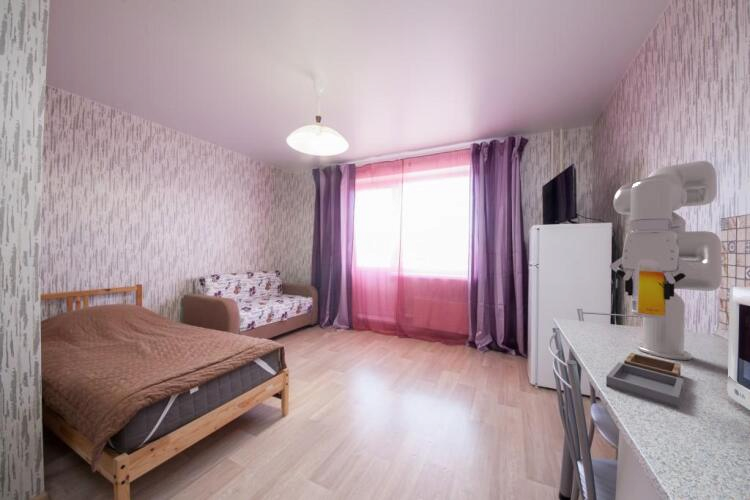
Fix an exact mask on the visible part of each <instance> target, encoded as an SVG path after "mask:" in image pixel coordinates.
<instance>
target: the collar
mask: <svg viewBox="0 0 750 500" xmlns="http://www.w3.org/2000/svg"><path fill="white" fill-rule="evenodd" d="M623 361H624V362H623V363H624V364H627V365H631V366H635V367H639V368H643V369H647V370H651V371H655V372H659V373H662V374H666V375H670V376H674V377H678V378H681V367H682V366H681V363H677V362H672V361H668V360H665V359H659V358H655V357H651V356H648V355H647V356H646V355H642V354H638V353H634V352H630V353H629V355H627V356H626V358H625V359H624V360H623Z"/></svg>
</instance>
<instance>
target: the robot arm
mask: <svg viewBox="0 0 750 500" xmlns="http://www.w3.org/2000/svg"><path fill="white" fill-rule="evenodd" d="M717 187H718V186H717V171H716V168H715V167H714V165H713V164H712V163H711V162H709V161H707V160H706V161H705V160H699V161H692V162H684V163H679V164H678V163H677V164H673V165H667V166H663V167H659V168H656V169H655V170H653V171H652V172H651V173H650V174H649V175H648V176H647V177H645V178H641V179H639V180H636V181H632V182H630V183H627V184H624V185H622V186H621V187H620V188H619V189H617V191H616V192H615V194H614V198H613V200H612V201H613V203H612V204H613V208H614V210H615V212H616V213H618V214H620V215H629V217H630V218H629V233H626V235H625V239H624V243H623V250H622V256H621V257H620V258H618V259H617V260H615V261H614V262H612V263H611V264H610V265H609V268H610V270H613V271H614V272H615V273H616V274H617V275H619V277H621V278H622V279H623V280H624V292H625V293H627V296H629V297H632V278H633V272H634V270H635V269H636V266H637V262H639V261H640V260H642V259H643V258H653V260H655V261H657V262H658V263H659V266H660V270H661V271H662V272H664V275H665V277H666V284H665V299H666V307H665V316H664V317H662V318H661V319H657V318H648V317H642V321H643V322H642V342H638V343H636V346H635V347H636V349H638V350H639V351H641V352H644V353H646V354H649V355H651V356H652V355H653V356H656V357H662V358H666V359H672V360H678V361H681V360H682V361H687V360H689V361H690V360H691V359H692V354H691V353H689V352H688V351H686V350H685V325H686V324H685V323H686V321H685V319H686V318H685V317H686V316H685V313H686V311H685V310H686V305H685V301H684V299H683V298H682V297H681V296H680V295H679V294H678V293H677V292H675V290H688V291H701V292H704V291H705V292H712V291H716V290H718V289H719V288H720V286H721V284H722V275H723V273H722V265H723V264H722V242H721V239H720V237H719V236H718V235H717V234H716V233H715V232H712V231H708V230H707V231H706V230H705V231H702V230H699V231H697V230H696V231H695V230H694V231H692V230H691V231H686V228H687V226H686V225H687V222H686V220H685V219H684V217H682V216H681V215H680V214H678V213H676V212H674V211H678V210H680V209H681V208H684V207H695V206H696V207H697V206H705V205H708V204H711V203H712V202H713V201H714V200H715V198H716V197H717ZM619 266H622V268H623V269H625V270H626V272H625V271H624V270H622V268H620V267H619Z"/></svg>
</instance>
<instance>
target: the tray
mask: <svg viewBox="0 0 750 500" xmlns="http://www.w3.org/2000/svg"><path fill="white" fill-rule="evenodd" d="M605 378H606V381H605V382H606V383H605V384H606V387H608V388H612V389H615V390H618V391H621V392H624V393H626V394H629V395H633V396H636V397H639V398H642V399H645V400H649V401H652V402H655V403H659V404H662V405H665V406H667V407H671V408H674V409H678V410H680V409H679V408H680V405H681V400H682V395H683V390H684V378H681V377H680V378H678V377H674V376H670V375H666V374H662V373H659V372H655V371H651V370H647V369H643V368H639V367H635V366H631V365H627V364H624V362H620V361H619V362H617V364H615V366H614V367H613V368H612V369H611V370H610V372H609V373H608V374H607V375H606V377H605Z"/></svg>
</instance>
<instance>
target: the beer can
mask: <svg viewBox="0 0 750 500" xmlns="http://www.w3.org/2000/svg"><path fill="white" fill-rule="evenodd" d="M665 284H666V277H665V275H664V272H662V271H661V270H660V266H659V263H658V262H657V261H655V260H653V258H643V259H642V260H640V261H639V262H637V266H636V269H635V270H634V272H633V277H632V296H631V312H632V313H633V314H634V316H637V317H642V318H643V317H648V318H657V319H661V318H662V317H664V316H665V307H666V299H665Z"/></svg>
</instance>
